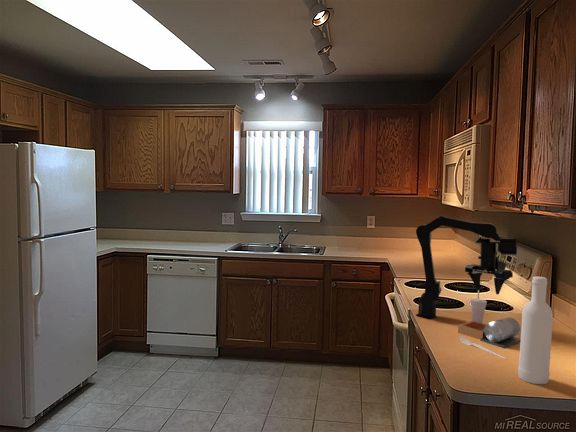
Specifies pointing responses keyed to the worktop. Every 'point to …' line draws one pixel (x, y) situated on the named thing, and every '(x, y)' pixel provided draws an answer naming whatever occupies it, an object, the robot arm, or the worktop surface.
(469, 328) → the motor unit
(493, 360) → the worktop surface
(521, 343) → the bottle
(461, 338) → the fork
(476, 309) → the white cup with straw
